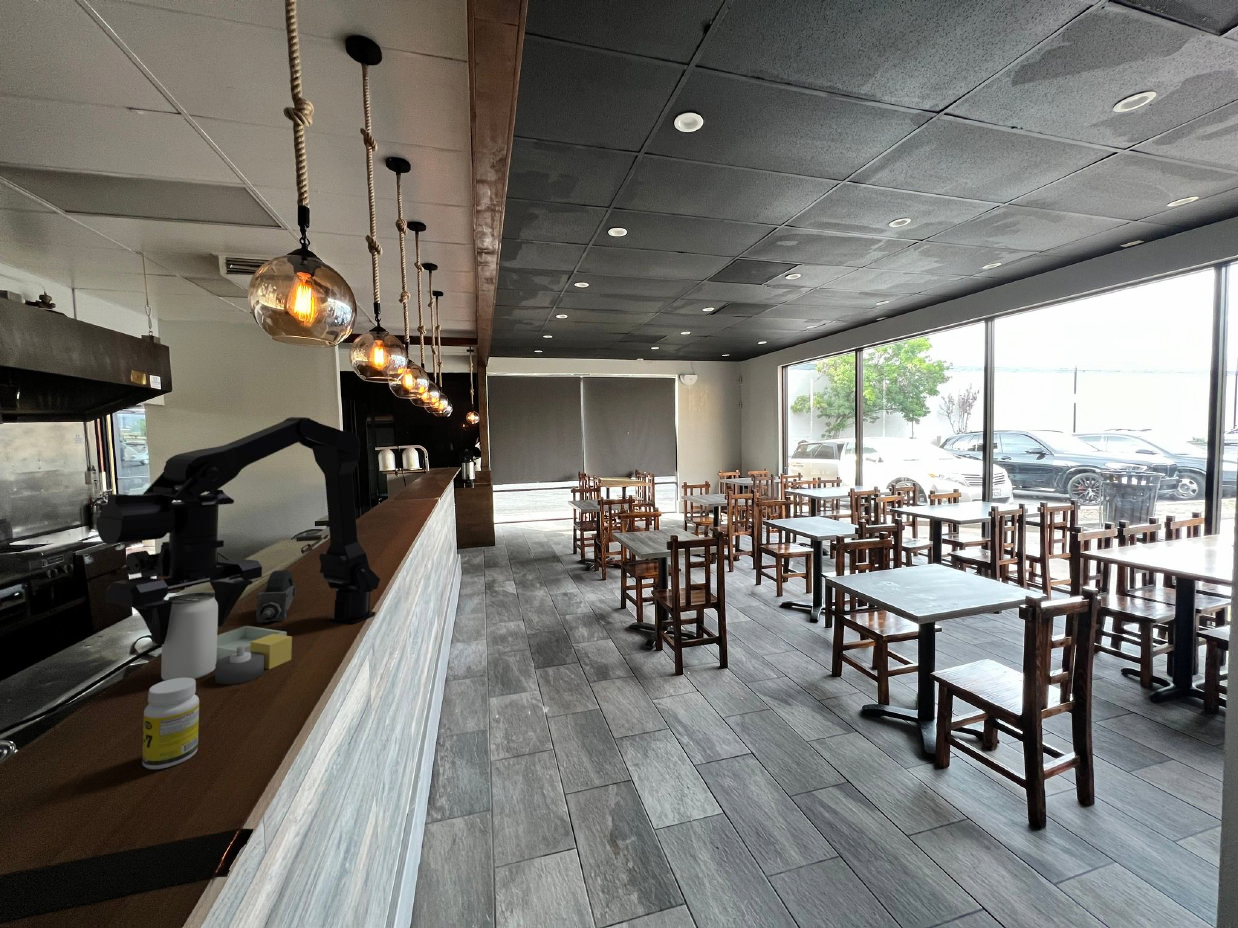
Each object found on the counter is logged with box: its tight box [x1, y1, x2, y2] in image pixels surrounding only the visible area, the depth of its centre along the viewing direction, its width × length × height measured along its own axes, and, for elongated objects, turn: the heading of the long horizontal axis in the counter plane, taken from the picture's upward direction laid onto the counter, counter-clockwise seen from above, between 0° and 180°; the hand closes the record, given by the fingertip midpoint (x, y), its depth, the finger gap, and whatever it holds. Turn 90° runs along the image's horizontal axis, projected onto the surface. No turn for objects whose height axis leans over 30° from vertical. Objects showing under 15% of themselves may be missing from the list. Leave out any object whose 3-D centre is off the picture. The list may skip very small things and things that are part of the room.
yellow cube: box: [250, 634, 293, 670], centre depth 82 cm, size 4×4×4 cm
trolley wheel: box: [214, 646, 265, 685], centre depth 77 cm, size 6×6×4 cm
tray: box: [216, 625, 288, 662], centre depth 86 cm, size 9×9×2 cm
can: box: [160, 592, 219, 681], centre depth 77 cm, size 6×6×12 cm
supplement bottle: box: [141, 678, 200, 770], centre depth 56 cm, size 5×5×8 cm
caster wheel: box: [255, 569, 297, 624], centre depth 104 cm, size 6×10×15 cm
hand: (190, 634), depth 77 cm, fingers open, 8 cm apart
